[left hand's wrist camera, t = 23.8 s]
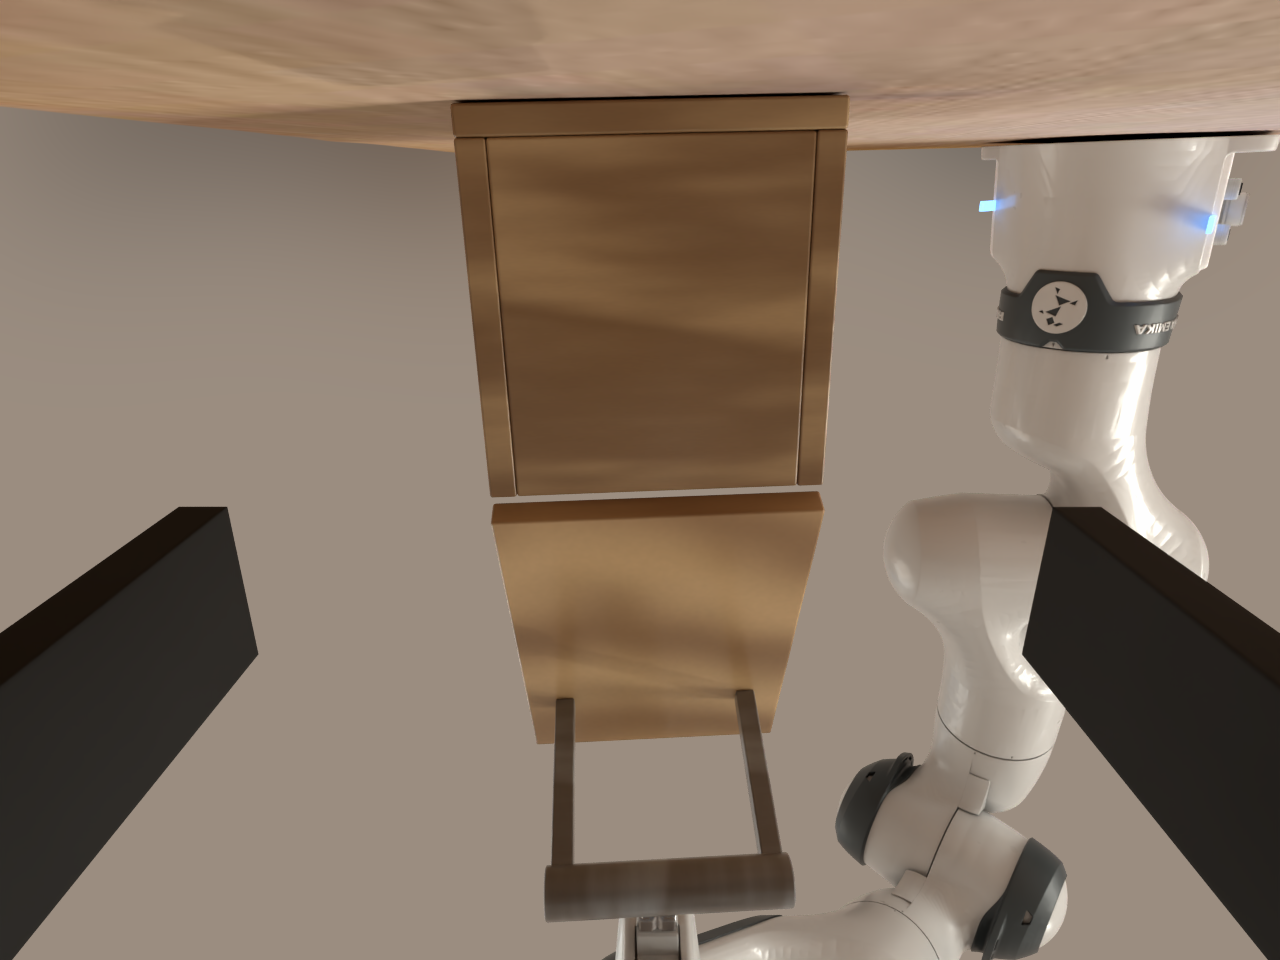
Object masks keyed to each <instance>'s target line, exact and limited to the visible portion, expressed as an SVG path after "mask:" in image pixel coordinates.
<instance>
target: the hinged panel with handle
mask: <svg viewBox="0 0 1280 960" xmlns="http://www.w3.org/2000/svg"><path fill="white" fill-rule="evenodd" d="M823 515H824V507H823V503H822V500H821V497H820V493H819V492H818V491H811V492H785V493H759V494H734V495H708V496H683V497H656V498H631V499H605V500H579V501H554V502H528V503H502V504H494V505H493V511H492V519H491V526H492V531H493V536H494V541H495V545H496V550H497V555H498V560H499V564H500V569H501V574H502V579H503V584H504V588H505V593H506V598H507V603H508V608H509V613H510V618H511V622H512V627H513V632H514V637H515V642H516V646H517V651H518V656H519V661H520V666H521V670H522V675H523V680H524V685H525V690H526V694H527V699H528V704H529V709H530V714H531V719H532V723H533V728H534V733H535V738H536V743H537V744H553V743H554V777H553V812H552V846H551V865H547V866H546V869H545V877H544V914H545V920H546V922H565V921H582V920H599V919H616V918H634V917H651V916H668V915H686V914H703V913H720V912H738V911H755V910H772V909H790V908H794V906H795V901H796V889H795V879H794V872H793V867H792V863H791V860H790V857H789V855H788V853H786V852H782V848H781V842H780V836H779V831H778V825H777V819H776V814H775V808H774V802H773V796H772V791H771V785H770V779H769V773H768V768H767V762H766V756H765V750H764V745H763V739H762V733H770V732H771V728H772V724H773V719H774V715H775V711H776V707H777V703H778V699H779V695H780V691H781V687H782V683H783V679H784V675H785V670H786V666H787V662H788V658H789V654H790V650H791V646H792V642H793V637H794V634H795V630H796V626H797V621H798V617H799V613H800V609H801V605H802V601H803V597H804V593H805V589H806V585H807V580H808V576H809V572H810V568H811V564H812V560H813V556H814V552H815V548H816V544H817V540H818V536H819V532H820V527H821V523H822V519H823ZM733 734H740V739H741V746H742V753H743V759H744V766H745V772H746V779H747V786H748V792H749V798H750V805H751V811H752V818H753V825H754V831H755V838H756V844H757V851H758V854H743V855H725V856H707V857H689V858H671V859H653V860H634V861H617V862H599V863H581V864H574V830H575V742H593V741H613V740H633V739H653V738H673V737H693V736H713V735H733Z"/></svg>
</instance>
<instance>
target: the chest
mask: <svg viewBox="0 0 1280 960" xmlns="http://www.w3.org/2000/svg"><path fill="white" fill-rule="evenodd" d="M849 105H850V97H849V96H848V95H817V96H769V97H721V98H673V99H625V100H577V101H529V102H481V103H453V104H451V116H452V126H453V134H454V136H455V137H456V138H455V139H454V147H455V157H456V166H457V176H458V186H459V196H460V206H461V215H462V225H463V235H464V245H465V254H466V264H467V274H468V283H469V293H470V303H471V313H472V322H473V332H474V342H475V352H476V361H477V371H478V381H479V391H480V401H481V410H482V420H483V430H484V440H485V449H486V459H487V469H488V479H489V488H490V496H491V497H513V496H516V495H517V494H518V495H519V496H530V495H556V494H581V493H608V492H634V491H659V490H686V489H711V488H737V487H762V486H763V487H764V486H789V485H796V484H798V485H821V484H823V477H824V463H825V449H826V435H827V420H828V406H829V392H830V378H831V364H832V350H833V335H834V321H835V307H836V293H837V279H838V265H839V250H840V236H841V222H842V208H843V194H844V179H845V165H846V151H847V137H848V131H847V130H846V128H847V127H848V119H849Z"/></svg>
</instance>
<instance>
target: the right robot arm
mask: <svg viewBox="0 0 1280 960" xmlns="http://www.w3.org/2000/svg"><path fill="white" fill-rule="evenodd" d="M1279 141H1280V134H1276V135H1250V136H1225V137H1197V138H1171V139H1145V140H1120V141H1096V142H1072V143H1049V144H1027V145H1007V146H987V147H982V152H981V159H982V160H996V173H995V187H994V200H993V201H981V202H980V209H979V211H993V215H992V229H991V246H990V252H991V255H992V257H993V258H994V260H995V261H996V262H997V263H998V264H999V265H1000V267H1001V268H1002V270H1003V273H1004V275H1005V279H1006V282H1007V286H1006V287H1005V288H1004V289H1002V290H1001V297H1000V304H999V306H998V308H997V318H998V321H997V332H998V333H999V334H1000V335H1001V340H1000V346H999V353H998V360H997V366H996V373H995V380H994V386H993V393H992V399H991V406H990V418H991V423H992V426H993V428H994V431H995V432H996V434H997V436H998V437H999V438H1000V440H1001V441H1002V442H1003V443H1004V444H1005V445H1006V446H1008V447H1009V448H1010V449H1012V450H1013V451H1015V452H1016V453H1018V454H1020V455H1021V456H1023V457H1025V458H1026V459H1028V460H1030V461H1032V462H1034V463H1036V464H1038V465H1040V466H1042V467H1044V468H1047V469H1048V470H1050V482H1049V487H1048V489H1047V491H1046V493H1044V494H1037V495H1013V494H984V493H956V494H949V495H942V496H935V497H929V498H923V499H918V500H912V501H909V502H908V503H907V504H905V505H904V506H903V507H902V508H901V509H900V510H899V511H898V512H897V514H896V515H895V517H894V518H893V519H892V521H891V523H890V525H889V527H888V530H887V532H886V535H885V539H884V545H883V560H884V566H885V570H886V573H887V576H888V578H889V581H890V583H891V584H892V586H893V588H894V589H895V591H896V592H897V594H898V595H899V596H900V597H901V598H902V599H903V600H904V601H905V602H906V603H907V604H908V605H910V606H911V607H913V608H915V609H916V610H918V611H919V612H921V613H922V614H923V615H924V616H925V617H927V618H928V619H929V620H930V621H931V622H932V624H933V625H934V626H935V627H936V629H937V630H938V632H939V634H940V636H941V638H942V641H943V645H944V664H943V673H942V679H941V686H940V691H939V696H938V700H937V706H936V712H935V721H934V732H933V740H932V745H931V749H930V751H929V754H928V756H927V758H926V759H925V761H924V763H923V764H922V765H918V766H913V755H912V754H911V753H902V754H900V755H899V756H898V757H897V759H883V760H880V761H877V762H874V763H872V764H870V765H868V766H866V767H864V768H862V769H861V770H860V771H859V772H858V774H857V775H856V776H855V777H854V778H853V779H852V780H851V781H850V782H849V784H848V785H847V786H846V788H845V790H844V791H843V793H842V796H841V798H840V802H839V805H838V812H837V818H836V825H835V828H836V833H837V838H838V841H839V843H840V844H841V845H842V847H843V848H844V849H845V850H846V851H847V852H848V853H849V854H850V855H851V856H852V857H853V858H854V859H855V860H857V861H858V862H859V863H860V864H861V865H868V866H869V867H870V868H871V869H872V870H874V871H875V872H876V873H877V874H879V875H880V876H881V877H882V878H884V879H885V880H886V881H888V882H889V883H890V884H892V885H893V886H894V887H895V888H887V889H880V890H876V891H872V892H869V893H866V894H864V895H862V896H860V897H858V898H856V899H854V900H852V901H851V902H849V903H847V904H846V905H845V906H843V907H842V908H841V909H839V910H837V911H833V912H828V913H822V914H815V915H798V916H782V915H760V916H754V917H750V918H746V919H743V920H740V921H737V922H733V923H731V924H728V925H725V926H722V927H719V928H716V929H713V930H710V931H707V932H704V933H701V934H698V935H697V931H696V924H695V916H694V914H686V915H668V916H651V917H634V918H619V925H618V936H617V946H616V952H614V953H612V954H610V955H608V956H607V957H605V958H604V959H603V960H959V959H960V957H961V955H962V953H963V952H964V951H966V950H970V949H971V951H974V952H982V953H983V957H982V960H992V959H994V958H998V959H1008V960H1016V959H1020V958H1023V957H1027V956H1029V955H1032V954H1035V953H1037V952H1038V949H1039V948H1040V947H1042V946H1043V945H1045V944H1046V943H1047V942H1048V941H1050V940H1051V939H1052V938H1053V937H1054V935H1055V934H1056V933H1057V932H1058V930H1059V928H1060V927H1061V925H1062V923H1063V920H1064V917H1065V914H1066V909H1067V899H1068V896H1067V886H1066V881H1065V879H1066V877H1067V874H1066V871H1065V869H1064V866H1063V863H1062V862H1061V861H1060V860H1059V859H1058V858H1057V857H1056V856H1055V855H1054V854H1053V853H1052V852H1051V851H1050V850H1048V849H1047V848H1046V847H1044V846H1043V845H1042V844H1041V843H1039V842H1038V841H1036V840H1035V839H1034V838H1030V839H1027V838H1026V837H1024V836H1023V835H1022V834H1020V833H1019V832H1017V831H1016V830H1014V829H1013V828H1011V827H1010V826H1008V825H1007V824H1005V823H1004V822H1002V821H1001V820H999V819H998V818H996V817H994V816H993V815H991V814H989V813H988V812H991V813H994V812H1003V811H1007V810H1009V809H1012V808H1014V807H1015V806H1017V805H1018V804H1020V803H1021V802H1022V801H1023V800H1024V799H1025V797H1026V796H1027V795H1028V793H1029V792H1030V791H1031V789H1032V788H1033V786H1034V785H1035V783H1036V782H1037V780H1038V778H1039V777H1040V775H1041V773H1042V771H1043V769H1044V768H1045V766H1046V763H1047V761H1048V759H1049V757H1050V754H1051V752H1052V749H1053V746H1054V743H1055V740H1056V738H1057V734H1058V731H1059V728H1060V725H1061V722H1062V719H1063V716H1064V713H1065V710H1066V709H1065V707H1064V706H1063V705H1062V704H1061V702H1060V701H1059V700H1058V699H1057V697H1056V696H1055V695H1054V694H1053V693H1052V691H1051V690H1050V689H1049V688H1048V686H1047V685H1046V684H1045V683H1044V681H1043V680H1042V679H1041V678H1040V676H1039V675H1038V674H1037V673H1036V671H1035V670H1034V669H1033V668H1032V666H1031V665H1030V664H1029V663H1028V662H1027V660H1026V659H1025V658H1024V657H1023V655H1022V650H1023V646H1024V641H1025V636H1026V631H1027V627H1028V622H1029V617H1030V612H1031V608H1032V603H1033V598H1034V594H1035V589H1036V584H1037V579H1038V575H1039V570H1040V565H1041V560H1042V556H1043V551H1044V546H1045V542H1046V537H1047V532H1048V527H1049V523H1050V518H1051V513H1052V509H1053V507H1102V508H1103V509H1105V510H1106V511H1108V512H1109V513H1110V514H1112V515H1113V516H1115V517H1116V518H1117V519H1119V520H1120V521H1122V522H1123V523H1125V524H1126V525H1127V526H1129V527H1130V528H1132V529H1133V530H1134V531H1136V532H1137V533H1139V534H1140V535H1142V536H1143V537H1144V538H1146V539H1147V540H1149V541H1150V542H1151V543H1153V544H1154V545H1156V546H1157V547H1159V548H1160V549H1161V550H1163V551H1164V552H1166V553H1167V554H1168V555H1170V556H1171V557H1173V558H1174V559H1175V560H1177V561H1178V562H1180V563H1181V564H1183V565H1184V566H1185V567H1187V568H1188V569H1190V570H1191V571H1192V572H1194V573H1195V574H1197V575H1198V576H1200V577H1201V578H1202V579H1204V580H1205V581H1207V579H1208V574H1209V557H1208V551H1207V547H1206V544H1205V542H1204V540H1203V538H1202V535H1201V534H1200V532H1199V530H1198V529H1197V528H1196V526H1195V525H1194V524H1193V522H1192V521H1191V520H1190V519H1189V518H1188V517H1187V516H1186V515H1185V514H1184V513H1183V512H1181V511H1180V510H1179V509H1177V508H1176V507H1175V506H1174V505H1173V504H1172V503H1171V502H1169V501H1168V499H1167V498H1166V497H1165V496H1164V495H1163V494H1162V492H1161V490H1160V489H1159V487H1158V486H1157V484H1156V482H1155V480H1154V478H1153V475H1152V472H1151V470H1150V467H1149V463H1148V458H1147V451H1146V428H1147V420H1148V412H1149V405H1150V399H1151V393H1152V388H1153V383H1154V377H1155V372H1156V368H1157V363H1158V359H1159V354H1160V349H1161V347H1162V346H1164V345H1166V344H1167V343H1168V342H1169V339H1170V336H1171V332H1172V329H1173V328H1174V327H1175V325H1176V322H1177V319H1178V314H1177V313H1178V310H1179V307H1180V304H1181V300H1182V297H1183V295H1182V294H1181V293H1180V292H1179V290H1180V288H1181V286H1182V284H1183V283H1184V282H1186V281H1187V280H1188V279H1189V278H1191V277H1192V276H1194V275H1196V274H1198V273H1199V271H1200V270H1202V269H1205V268H1206V267H1207V266H1208V262H1209V258H1210V254H1211V249H1212V246H1213V245H1226V243H1227V240H1228V237H1229V233H1230V227H1231V226H1239V225H1242V223H1243V219H1244V215H1245V211H1246V207H1247V203H1248V199H1249V195H1250V194H1247V193H1241V189H1242V185H1243V183H1241V182H1242V179H1237V178H1229V175H1230V170H1231V166H1232V162H1233V158H1234V154H1235V153H1239V152H1262V151H1275V150H1276V149H1277V147H1278V144H1279Z"/></svg>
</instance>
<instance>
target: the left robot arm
mask: <svg viewBox="0 0 1280 960" xmlns="http://www.w3.org/2000/svg"><path fill="white" fill-rule="evenodd" d="M257 655H258V650H257V646H256V641H255V636H254V631H253V627H252V622H251V617H250V612H249V608H248V603H247V598H246V594H245V589H244V584H243V579H242V575H241V570H240V565H239V561H238V556H237V551H236V547H235V542H234V537H233V532H232V527H231V523H230V518H229V513H228V509H227V507H178V508H177V509H175V510H174V511H172V512H171V513H170V514H168V515H167V516H165V517H164V518H163V519H161V520H160V521H158V522H157V523H156V524H154V525H153V526H151V527H150V528H148V529H147V530H146V531H144V532H143V533H141V534H140V535H138V536H137V537H136V538H134V539H133V540H131V541H130V542H129V543H127V544H126V545H124V546H123V547H121V548H120V549H119V550H117V551H116V552H114V553H113V554H112V555H110V556H109V557H107V558H106V559H105V560H103V561H102V562H100V563H99V564H97V565H96V566H95V567H93V568H92V569H90V570H89V571H88V572H86V573H85V574H83V575H82V576H80V577H79V578H78V579H76V580H75V581H73V582H72V583H71V584H69V585H68V586H66V587H65V588H64V589H62V590H61V591H59V592H58V593H56V594H55V595H54V596H52V597H51V598H49V599H48V600H47V601H45V602H44V603H42V604H41V605H40V606H38V607H37V608H35V609H34V610H32V611H31V612H30V613H28V614H27V615H25V616H24V617H23V618H21V619H20V620H18V621H17V622H15V623H14V624H13V625H11V626H10V627H8V628H7V629H6V630H4V631H3V632H1V633H0V960H12V959H13V958H14V957H15V956H16V954H17V953H18V952H19V950H20V949H21V948H22V947H23V946H24V944H25V943H26V942H27V941H28V939H29V938H30V937H31V936H32V934H33V933H34V932H35V931H36V929H37V928H38V927H39V926H40V924H41V923H42V922H43V921H44V920H45V918H46V917H47V916H48V915H49V913H50V912H51V911H52V910H53V908H54V907H55V906H56V905H57V903H58V902H59V901H60V900H61V898H62V897H63V896H64V895H65V893H66V892H67V891H68V890H69V889H70V887H71V886H72V885H73V884H74V882H75V881H76V880H77V879H78V877H79V876H80V875H81V874H82V872H83V871H84V870H85V869H86V867H87V866H88V865H89V864H90V862H91V861H92V860H93V859H94V857H95V856H96V855H97V854H98V853H99V851H100V850H101V849H102V848H103V846H104V845H105V844H106V843H107V841H108V840H109V839H110V838H111V836H112V835H113V834H114V833H115V831H116V830H117V829H118V828H119V826H120V825H121V824H122V823H123V822H124V820H125V819H126V818H127V816H128V815H129V814H130V813H131V812H132V810H133V809H134V808H135V807H136V805H137V804H138V803H139V802H140V800H141V799H142V798H143V797H144V795H145V794H146V793H147V792H148V791H149V789H150V788H151V787H152V786H153V784H154V783H155V782H156V781H157V779H158V778H159V777H160V776H161V774H162V773H163V772H164V771H165V769H166V768H167V767H168V766H169V764H170V763H171V762H172V761H173V760H174V758H175V757H176V756H177V755H178V753H179V752H180V751H181V750H182V748H183V747H184V746H185V745H186V743H187V742H188V741H189V740H190V738H191V737H192V736H193V735H194V733H195V732H196V731H197V730H198V728H199V727H200V726H201V725H202V723H203V722H204V721H205V720H206V719H207V717H208V716H209V715H210V714H211V712H212V711H213V710H214V709H215V707H216V706H217V705H218V704H219V702H220V701H221V700H222V699H223V697H224V696H225V695H226V694H227V693H228V691H229V690H230V689H231V688H232V686H233V685H234V684H235V683H236V681H237V680H238V679H239V678H240V676H241V675H242V674H243V673H244V671H245V670H246V669H247V668H248V666H249V665H250V664H251V663H252V662H253V660H254V659H255V658H256V657H257ZM1022 655H1023V657H1024V658H1025V659H1026V660H1027V662H1028V663H1029V664H1030V665H1031V666H1032V668H1033V669H1034V670H1035V671H1036V673H1037V674H1038V675H1039V676H1040V678H1041V679H1042V680H1043V681H1044V683H1045V684H1046V685H1047V686H1048V688H1049V689H1050V690H1051V691H1052V693H1053V694H1054V695H1055V696H1056V697H1057V699H1058V700H1059V701H1060V702H1061V704H1062V705H1063V706H1064V707H1065V709H1066V710H1067V711H1068V712H1069V714H1070V715H1071V716H1072V717H1073V718H1074V720H1075V721H1076V722H1077V723H1078V725H1079V726H1080V727H1081V729H1082V730H1083V731H1084V732H1085V733H1086V735H1087V736H1088V737H1089V738H1090V740H1091V741H1092V742H1093V743H1094V745H1095V746H1096V747H1097V748H1098V750H1099V751H1100V752H1101V753H1102V754H1103V756H1104V757H1105V758H1106V759H1107V761H1108V762H1109V763H1110V764H1111V766H1112V767H1113V768H1114V769H1115V771H1116V772H1117V773H1118V774H1119V776H1120V777H1121V778H1122V779H1123V781H1124V782H1125V783H1126V784H1127V785H1128V787H1129V788H1130V789H1131V790H1132V792H1133V793H1134V794H1135V795H1136V797H1137V798H1138V799H1139V800H1140V802H1141V803H1142V804H1143V805H1144V807H1145V808H1146V809H1147V810H1148V812H1149V813H1150V814H1151V815H1152V817H1153V818H1154V819H1155V820H1156V822H1157V823H1158V824H1159V825H1160V827H1161V828H1162V829H1163V830H1164V831H1165V833H1166V834H1167V835H1168V836H1169V838H1170V839H1171V840H1172V841H1173V843H1174V844H1175V845H1176V846H1177V848H1178V849H1179V850H1180V851H1181V853H1182V854H1183V855H1184V856H1185V858H1186V859H1187V860H1188V861H1189V862H1190V864H1191V865H1192V866H1193V867H1194V869H1195V870H1196V871H1197V872H1198V874H1199V875H1200V876H1201V877H1202V879H1203V880H1204V881H1205V882H1206V883H1207V885H1208V886H1209V887H1210V888H1211V890H1212V891H1213V892H1214V893H1215V895H1216V896H1217V897H1218V898H1219V900H1220V901H1221V902H1222V903H1223V905H1224V906H1225V907H1226V908H1227V910H1228V911H1229V912H1230V913H1231V915H1232V916H1233V917H1234V918H1235V920H1236V921H1237V922H1238V923H1239V924H1240V926H1241V927H1242V928H1243V929H1244V931H1245V932H1246V933H1247V934H1248V936H1249V937H1250V938H1251V939H1252V941H1253V942H1254V943H1255V944H1256V946H1257V947H1258V948H1259V949H1260V951H1261V952H1262V953H1263V954H1264V956H1265V957H1266V958H1267V959H1268V960H1280V633H1279V632H1277V631H1276V630H1274V629H1273V628H1272V627H1270V626H1269V625H1267V624H1266V623H1265V622H1263V621H1262V620H1260V619H1259V618H1257V617H1256V616H1255V615H1253V614H1252V613H1250V612H1249V611H1248V610H1246V609H1245V608H1243V607H1242V606H1241V605H1239V604H1238V603H1236V602H1235V601H1233V600H1232V599H1231V598H1229V597H1228V596H1226V595H1225V594H1224V593H1222V592H1221V591H1219V590H1218V589H1216V588H1215V587H1214V586H1212V585H1211V584H1209V583H1208V582H1207V581H1205V580H1204V579H1202V578H1201V577H1200V576H1198V575H1197V574H1195V573H1194V572H1192V571H1191V570H1190V569H1188V568H1187V567H1185V566H1184V565H1183V564H1181V563H1180V562H1178V561H1177V560H1175V559H1174V558H1173V557H1171V556H1170V555H1168V554H1167V553H1166V552H1164V551H1163V550H1161V549H1160V548H1159V547H1157V546H1156V545H1154V544H1153V543H1151V542H1150V541H1149V540H1147V539H1146V538H1144V537H1143V536H1142V535H1140V534H1139V533H1137V532H1136V531H1134V530H1133V529H1132V528H1130V527H1129V526H1127V525H1126V524H1125V523H1123V522H1122V521H1120V520H1119V519H1117V518H1116V517H1115V516H1113V515H1112V514H1110V513H1109V512H1108V511H1106V510H1105V509H1103V508H1102V507H1053V509H1052V513H1051V518H1050V523H1049V527H1048V532H1047V537H1046V542H1045V546H1044V551H1043V556H1042V560H1041V565H1040V570H1039V575H1038V579H1037V584H1036V589H1035V594H1034V598H1033V603H1032V608H1031V612H1030V617H1029V622H1028V627H1027V631H1026V636H1025V641H1024V646H1023V650H1022Z"/></svg>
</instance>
